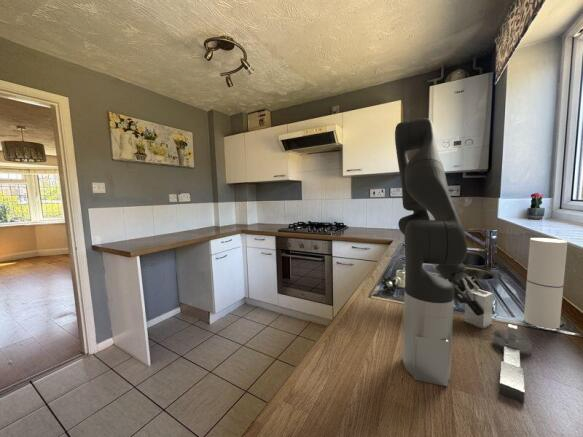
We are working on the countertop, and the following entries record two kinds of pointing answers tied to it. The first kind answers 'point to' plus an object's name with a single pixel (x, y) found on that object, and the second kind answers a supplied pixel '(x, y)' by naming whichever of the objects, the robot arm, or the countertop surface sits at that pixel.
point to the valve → (395, 281)
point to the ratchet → (512, 361)
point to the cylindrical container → (545, 282)
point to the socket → (485, 303)
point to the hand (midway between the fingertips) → (485, 312)
